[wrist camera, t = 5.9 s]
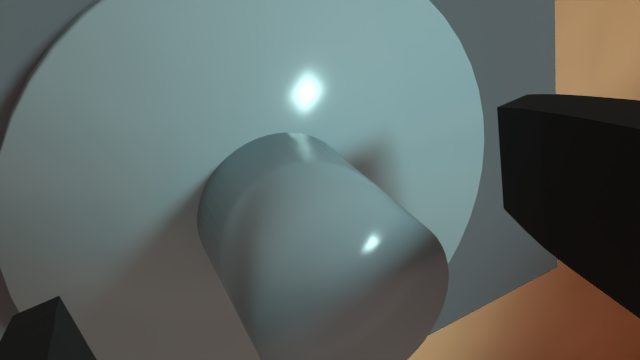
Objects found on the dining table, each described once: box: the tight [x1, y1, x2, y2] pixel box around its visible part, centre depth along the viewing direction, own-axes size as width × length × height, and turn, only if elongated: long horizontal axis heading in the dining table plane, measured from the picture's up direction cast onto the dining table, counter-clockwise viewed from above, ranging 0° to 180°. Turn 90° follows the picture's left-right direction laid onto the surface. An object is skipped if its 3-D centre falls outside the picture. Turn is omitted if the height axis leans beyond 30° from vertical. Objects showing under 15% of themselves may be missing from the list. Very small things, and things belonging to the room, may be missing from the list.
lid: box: [0, 0, 484, 360], centre depth 10 cm, size 9×9×4 cm
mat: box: [0, 0, 557, 341], centre depth 12 cm, size 14×12×1 cm
